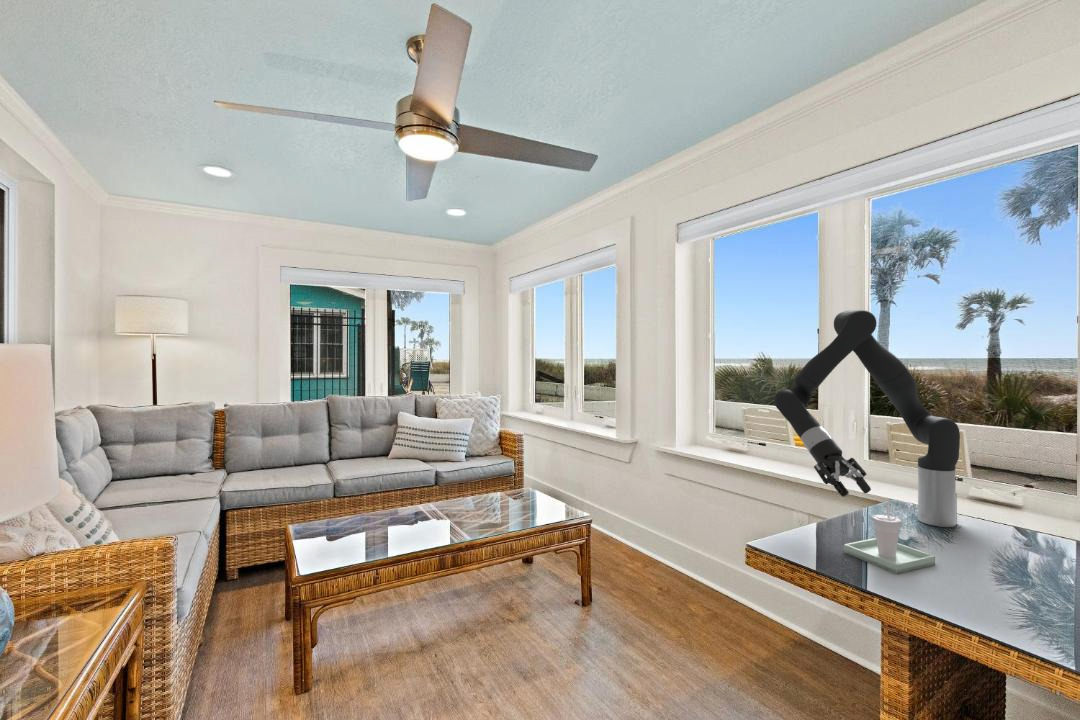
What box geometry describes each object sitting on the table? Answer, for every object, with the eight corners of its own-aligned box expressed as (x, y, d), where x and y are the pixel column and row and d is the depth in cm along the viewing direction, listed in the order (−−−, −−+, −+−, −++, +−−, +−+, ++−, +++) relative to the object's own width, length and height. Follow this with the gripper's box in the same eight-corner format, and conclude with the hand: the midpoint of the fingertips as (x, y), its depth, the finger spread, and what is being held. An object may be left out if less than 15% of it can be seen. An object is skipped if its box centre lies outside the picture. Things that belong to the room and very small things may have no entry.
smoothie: (908, 559, 126) (907, 505, 126) (883, 560, 126) (882, 505, 126) (890, 549, 132) (890, 497, 132) (866, 550, 133) (866, 498, 132)
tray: (880, 544, 138) (880, 536, 138) (935, 564, 125) (935, 556, 125) (844, 552, 133) (843, 544, 133) (896, 573, 120) (896, 564, 120)
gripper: (810, 439, 143) (847, 489, 132) (846, 436, 147) (884, 483, 137) (795, 454, 148) (829, 503, 137) (830, 450, 152) (866, 497, 142)
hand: (857, 493), depth 137 cm, fingers open, 8 cm apart
